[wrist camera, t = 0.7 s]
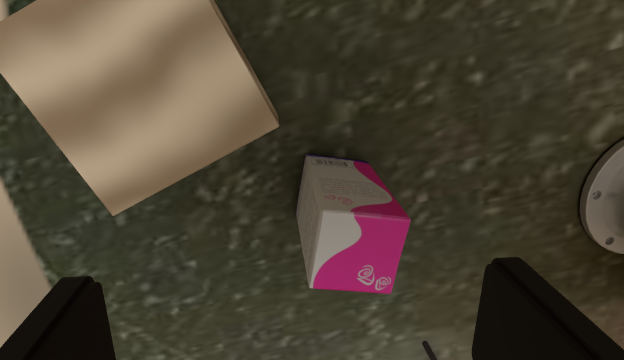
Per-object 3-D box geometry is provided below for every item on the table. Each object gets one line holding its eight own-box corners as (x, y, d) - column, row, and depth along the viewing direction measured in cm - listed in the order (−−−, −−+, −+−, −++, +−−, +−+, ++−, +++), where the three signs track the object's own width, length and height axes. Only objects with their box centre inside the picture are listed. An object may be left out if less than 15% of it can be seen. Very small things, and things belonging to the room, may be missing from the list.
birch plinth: (278, 114, 34) (279, 126, 29) (132, 194, 34) (113, 216, 30) (181, -60, 29) (166, -76, 25) (15, 37, 30) (-28, 37, 25)
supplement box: (294, 215, 37) (305, 290, 26) (304, 152, 35) (321, 204, 24) (357, 222, 38) (393, 297, 27) (370, 161, 36) (414, 214, 25)
